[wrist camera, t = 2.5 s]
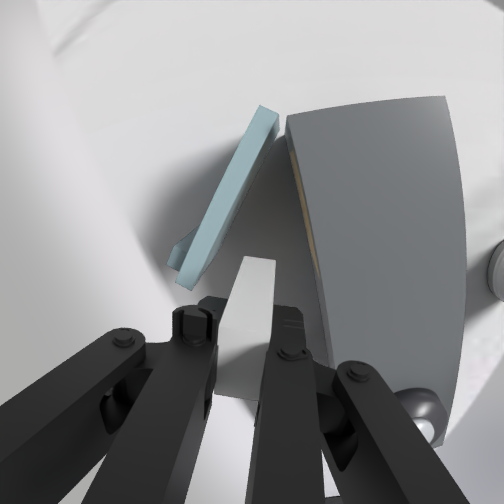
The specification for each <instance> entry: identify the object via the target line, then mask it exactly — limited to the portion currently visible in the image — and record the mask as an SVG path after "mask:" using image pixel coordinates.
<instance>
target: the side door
mask: <svg viewBox="0 0 504 504" xmlns="http://www.w3.org/2000/svg"><path fill="white" fill-rule="evenodd" d="M279 130H280V129H279V114H278V113H276V112H274V111H272V110H269V109H267V108H265V107H263V106H261V105H259V107H258V109H257V111H256V113H255V115H254V117H253V118H252V120H251V122H250V124H249V126H248V128H247V130H246V132H245V134H244V136H243V138H242V140H241V142H240V144H239V146H238V148H237V150H236V152H235V154H234V156H233V158H232V160H231V162H230V164H229V166H228V168H227V170H226V172H225V174H224V176H223V178H222V180H221V182H220V184H219V186H218V188H217V190H216V193H215V195H214V197H213V199H212V201H211V203H210V205H209V207H208V209H207V212H206V214H205V216H204V218H203V220H202V222H201V225H199V226H198V227H197V228H195V229H194V230H193V231H192V232H191V233H189V234H188V235H187V236H186V237H185V238H183V239H182V240H181V241H180V242H178V243H177V244H176V245H175V246H174V247H173V249H172V252H171V254H170V257H169V259H168V261H167V264H166V265H168V266H169V267H171V268H173V269H175V270H177V271H179V274H178V276H177V279H176V281H175V283H177V284H179V285H181V286H183V287H185V288H187V289H189V290H191V291H192V289H193V288H194V286H195V285H196V283H197V282H198V280H199V279H200V277H201V276H202V275H203V273H204V272H205V270H206V269H207V267H208V266H209V264H210V263H211V261H212V260H213V258H214V257H215V255H216V254H217V252H218V251H219V249H220V247H221V245H222V243H223V241H224V239H225V237H226V235H227V233H228V231H229V229H230V227H231V225H232V223H233V221H234V219H235V217H236V215H237V213H238V211H239V209H240V207H241V205H242V203H243V201H244V199H245V197H246V195H247V193H248V191H249V189H250V187H251V185H252V183H253V181H254V179H255V177H256V175H257V173H258V171H259V169H260V167H261V165H262V163H263V161H264V159H265V157H266V155H267V153H268V152H269V150H270V148H271V146H272V144H273V142H274V140H275V138H276V136H277V134H278V132H279Z"/></svg>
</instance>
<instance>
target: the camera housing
mask: <svg viewBox="0 0 504 504" xmlns="http://www.w3.org/2000/svg"><path fill="white" fill-rule="evenodd" d="M285 139H286V143H287V147H288V151H289V155H290V160H291V164H292V168H293V173H294V177H295V181H296V186H297V190H298V195H299V200H300V204H301V209H302V214H303V219H304V223H305V228H306V233H307V238H308V243H309V249H310V254H311V259H312V264H313V270H314V275H315V281H316V286H317V292H318V298H319V304H320V309H321V316H322V322H323V328H324V334H325V341H326V347H327V354H328V361H329V368H332V369H336V370H337V367H338V365H339V364H341V363H342V362H344V361H349V360H355V361H361V362H365V363H367V364H369V365H371V366H373V367H374V368H375V369H376V370H377V371H378V372H379V374H380V375H381V377H382V378H383V379H384V381H385V382H386V383H387V385H388V386H389V388H390V389H391V390H392V392H393V393H394V395H395V396H396V397H397V399H398V400H399V401H400V403H401V404H402V406H403V407H404V408H405V410H406V411H407V413H408V414H409V415H410V417H411V418H412V420H413V421H414V423H415V424H416V425H417V427H418V428H419V430H420V431H421V432H422V434H423V435H424V437H425V438H426V440H427V441H428V443H429V444H430V445H431V447H432V448H436V447H439V446H442V445H443V441H444V437H445V434H446V430H447V426H448V422H449V417H450V413H451V408H452V404H453V399H454V394H455V389H456V383H457V377H458V371H459V364H460V357H461V349H462V341H463V331H464V319H465V304H466V276H467V257H466V228H465V213H464V201H463V191H462V182H461V175H460V167H459V161H458V154H457V149H456V143H455V138H454V132H453V127H452V123H451V118H450V114H449V109H448V105H447V101H446V97H445V96H429V97H415V98H403V99H392V100H383V101H374V102H366V103H358V104H351V105H344V106H338V107H331V108H325V109H320V110H314V111H308V112H303V113H298V114H293V115H288V116H287V120H286V127H285Z"/></svg>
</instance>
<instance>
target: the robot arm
mask: <svg viewBox="0 0 504 504" xmlns="http://www.w3.org/2000/svg"><path fill="white" fill-rule="evenodd" d="M275 266H276V260H271V259H264V258H256V257H249V256H244V258H243V261H242V264H241V266H240V269H239V272H238V275H237V277H236V280H235V283H234V286H233V288H232V291H231V294H230V297H229V299H224V298H218V297H211V296H207V297H205V298H204V299H202V300H200V301H199V303H198V305H187V306H182V307H179V308H176V309H175V310H174V311H173V312H172V320H173V321H172V327H173V328H172V338H171V340H170V341H168V342H163V343H146V342H145V337H144V335H143V334H142V333H141V332H139V331H138V330H135V329H131V328H118V329H113V330H111V331H109V332H107V333H106V334H104V335H103V336H101V337H100V338H98V339H97V340H95V341H94V342H93V343H91V344H89V345H88V346H86V347H85V348H83V349H82V350H81V351H79V352H78V353H76V354H75V355H73V356H72V357H70V358H69V359H67V360H66V361H64V362H63V363H62V364H60V365H59V366H57V367H56V368H54V369H53V370H51V371H50V372H49V373H47V374H46V375H44V376H43V377H41V378H40V379H38V380H37V381H35V382H34V383H33V384H31V385H30V386H28V387H27V388H25V389H24V390H23V391H21V392H20V393H18V394H17V395H15V396H14V397H12V398H11V399H10V400H8V401H7V402H5V403H4V404H3V405H1V406H0V504H58V503H59V502H60V501H61V500H62V499H63V498H64V497H65V496H66V495H67V494H68V493H69V492H70V491H71V490H72V489H73V488H74V487H75V486H76V485H77V484H78V483H79V482H80V480H81V479H83V477H85V476H86V475H87V474H88V472H89V471H90V470H91V469H92V468H93V467H94V466H95V465H96V464H97V463H98V462H99V461H100V460H101V459H102V458H103V457H104V456H105V455H106V454H107V455H106V457H105V459H104V461H103V462H102V465H101V467H100V468H99V470H98V472H97V474H96V476H95V478H94V480H93V481H92V483H91V485H90V487H89V489H88V491H87V493H86V495H85V497H84V499H83V501H82V503H81V504H184V503H185V499H186V495H187V492H188V488H189V485H190V481H191V477H192V473H193V470H194V467H195V463H196V459H197V456H198V452H199V449H200V445H201V442H202V438H203V434H204V431H205V427H206V423H207V420H208V416H209V413H210V409H211V406H212V393H213V390H214V394H216V395H222V396H228V397H234V398H241V399H248V400H255V401H259V402H258V407H257V413H256V418H255V423H254V427H255V430H254V438H253V446H252V453H251V461H250V469H249V476H248V484H247V491H246V498H245V504H470V503H469V502H468V500H467V499H466V497H465V496H464V494H463V493H462V491H461V489H460V488H459V486H458V485H457V484H456V482H455V481H454V479H453V478H452V476H451V475H450V473H449V472H448V470H447V469H446V467H445V466H444V464H443V463H442V462H441V460H440V458H439V457H438V456H437V454H436V453H435V451H434V450H433V448H432V447H431V445H430V444H429V443H428V441H427V440H426V438H425V437H424V435H423V434H422V432H421V431H420V430H419V428H418V427H417V425H416V424H415V423H414V421H413V420H412V418H411V417H410V415H409V414H408V413H407V411H406V410H405V408H404V407H403V406H402V404H401V403H400V401H399V400H398V399H397V397H396V396H395V395H394V393H393V392H392V390H391V389H390V388H389V386H388V385H387V383H386V382H385V381H384V379H383V378H382V377H381V375H380V374H379V372H378V371H377V370H376V369H375V368H374V367H373V366H371V365H369V364H367V363H365V362H361V361H355V360H349V361H344V362H342V363H341V364H339V365H338V367H337V370H336V369H332V368H329V367H325V366H323V365H320V364H318V363H317V362H315V361H314V360H313V359H312V355H311V352H310V351H309V350H308V349H307V348H306V340H305V331H304V323H303V314H302V313H301V312H300V311H299V310H298V308H296V307H288V306H281V305H273V298H274V282H275ZM321 449H322V451H321ZM322 452H323V454H324V457H325V459H326V462H327V464H328V467H329V469H330V472H331V474H332V477H333V479H334V482H335V484H336V487H337V489H338V492H339V494H340V497H332V498H326V499H325V494H324V478H323V464H322Z"/></svg>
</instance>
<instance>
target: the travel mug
mask: <svg viewBox="0 0 504 504" xmlns="http://www.w3.org/2000/svg"><path fill="white" fill-rule="evenodd" d="M488 285H489V288H490V290H491V292H492V293H493V294H494V295H495V296H497V297H498V298H499V299H500V300H502V301H503V302H504V241H503V242H502V243H501V244H500V245H499V246H498V247H497V249H496V250H495V252H494V253H493V255H492V258H491V260H490V263H489V267H488Z"/></svg>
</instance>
